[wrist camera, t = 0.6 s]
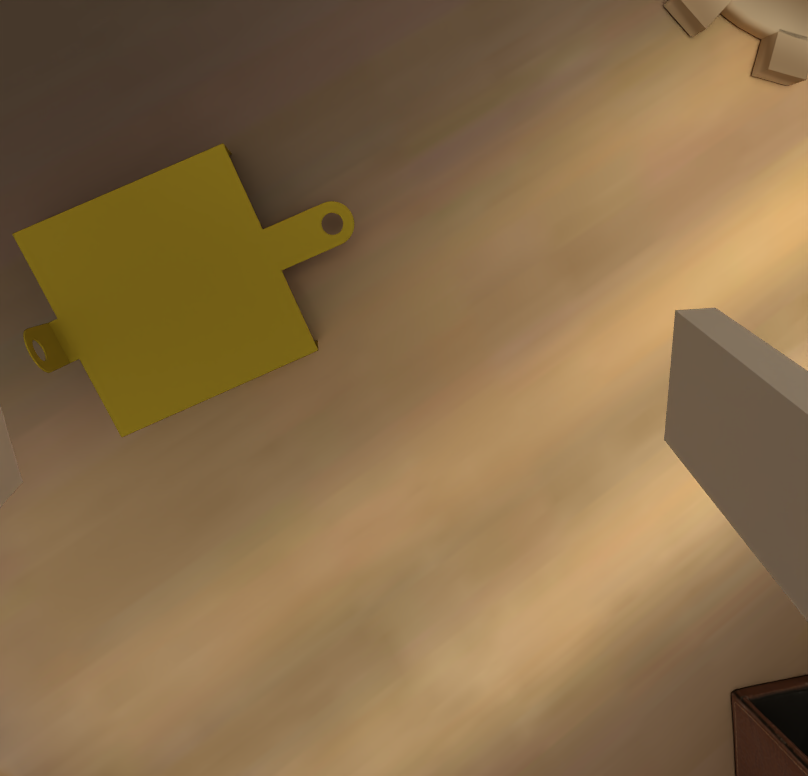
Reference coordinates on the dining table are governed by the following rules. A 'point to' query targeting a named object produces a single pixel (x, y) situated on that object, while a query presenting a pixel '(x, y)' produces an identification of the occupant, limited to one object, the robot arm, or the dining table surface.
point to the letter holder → (772, 728)
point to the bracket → (172, 288)
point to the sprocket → (757, 31)
